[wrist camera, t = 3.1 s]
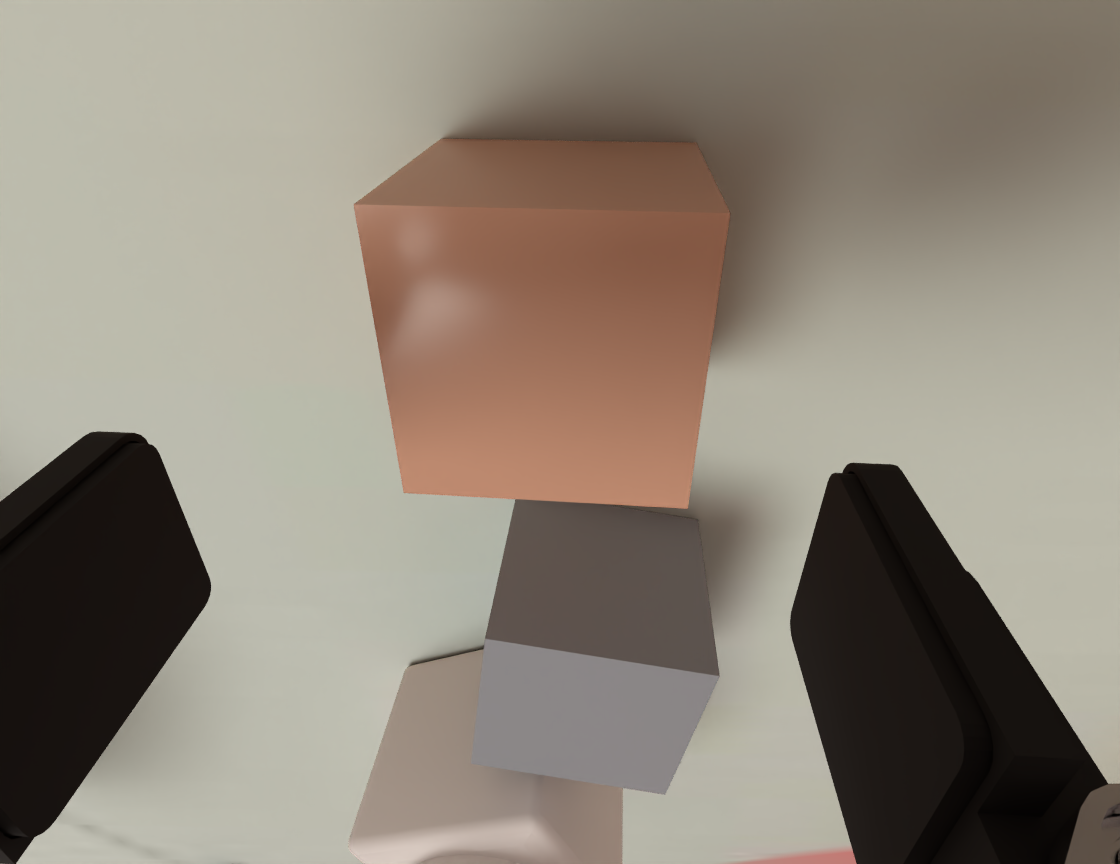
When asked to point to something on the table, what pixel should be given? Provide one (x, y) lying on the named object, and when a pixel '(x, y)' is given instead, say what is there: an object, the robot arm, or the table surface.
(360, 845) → the medicine bottle
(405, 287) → the terracotta cube
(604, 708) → the slate cube
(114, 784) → the table surface
